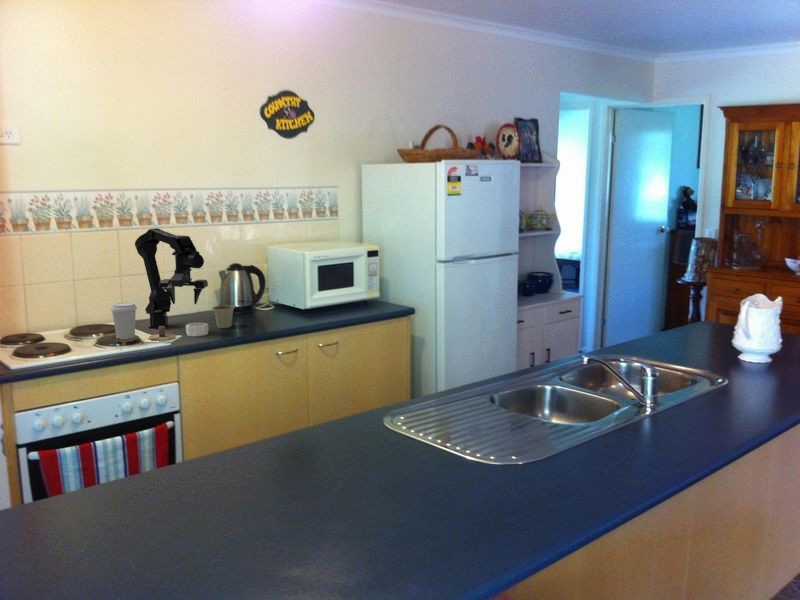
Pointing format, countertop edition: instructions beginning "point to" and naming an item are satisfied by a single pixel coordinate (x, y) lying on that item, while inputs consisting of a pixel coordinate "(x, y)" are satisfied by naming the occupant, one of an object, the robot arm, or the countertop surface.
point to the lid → (162, 335)
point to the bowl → (197, 329)
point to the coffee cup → (124, 319)
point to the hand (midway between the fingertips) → (184, 304)
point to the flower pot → (223, 315)
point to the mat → (171, 340)
